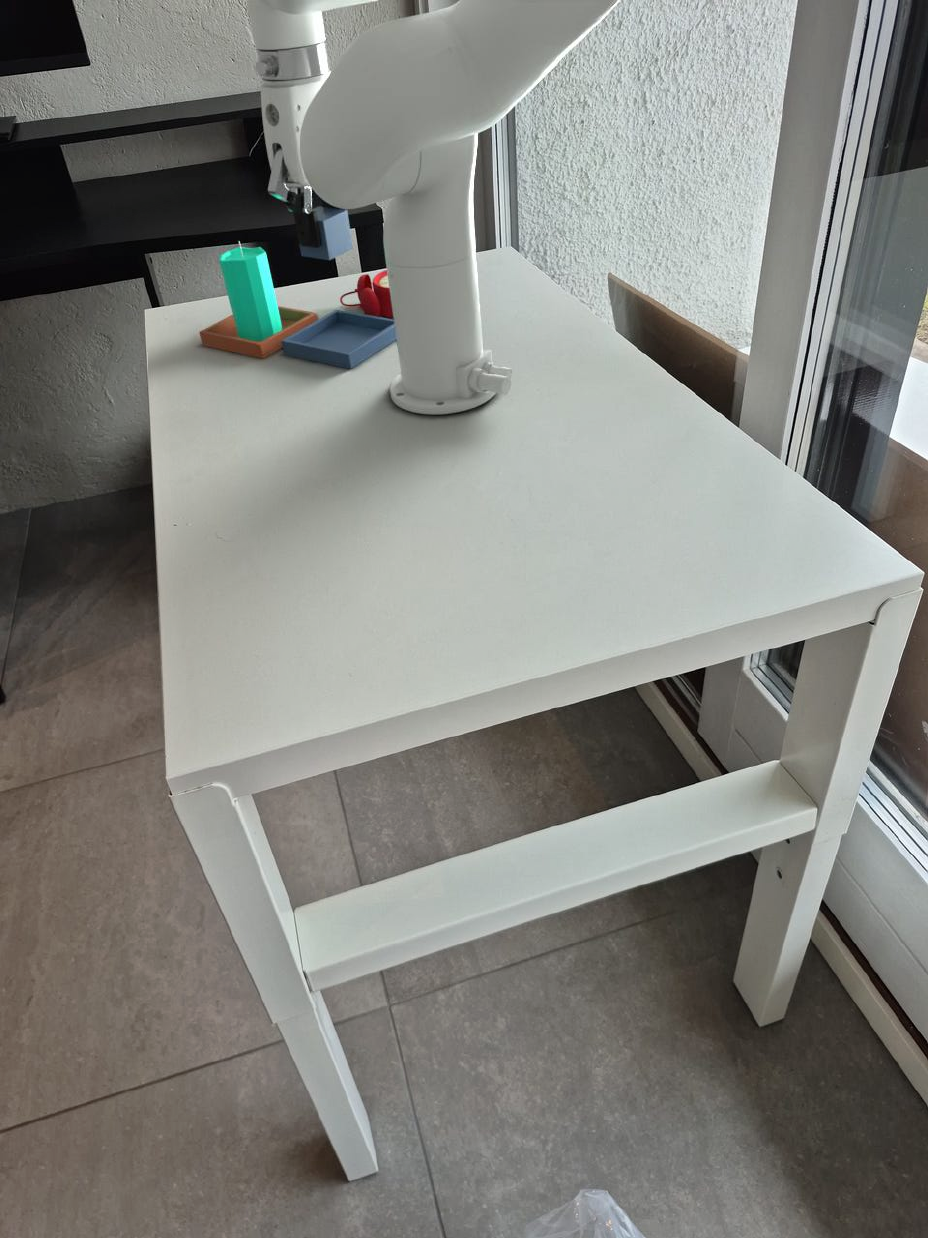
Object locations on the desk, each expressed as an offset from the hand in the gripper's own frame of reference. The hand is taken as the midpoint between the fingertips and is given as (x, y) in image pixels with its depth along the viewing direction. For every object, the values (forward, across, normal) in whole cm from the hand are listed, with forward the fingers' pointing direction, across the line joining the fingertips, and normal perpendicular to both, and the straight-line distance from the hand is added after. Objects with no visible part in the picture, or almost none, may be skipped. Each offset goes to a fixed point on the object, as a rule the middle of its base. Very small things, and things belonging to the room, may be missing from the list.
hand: (324, 237), depth 109 cm
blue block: (+2, 0, 0) cm, 2 cm away
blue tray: (+13, 0, 0) cm, 13 cm away
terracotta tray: (+14, -2, +13) cm, 19 cm away
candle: (+13, -2, +13) cm, 19 cm away
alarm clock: (+14, +13, +1) cm, 19 cm away
